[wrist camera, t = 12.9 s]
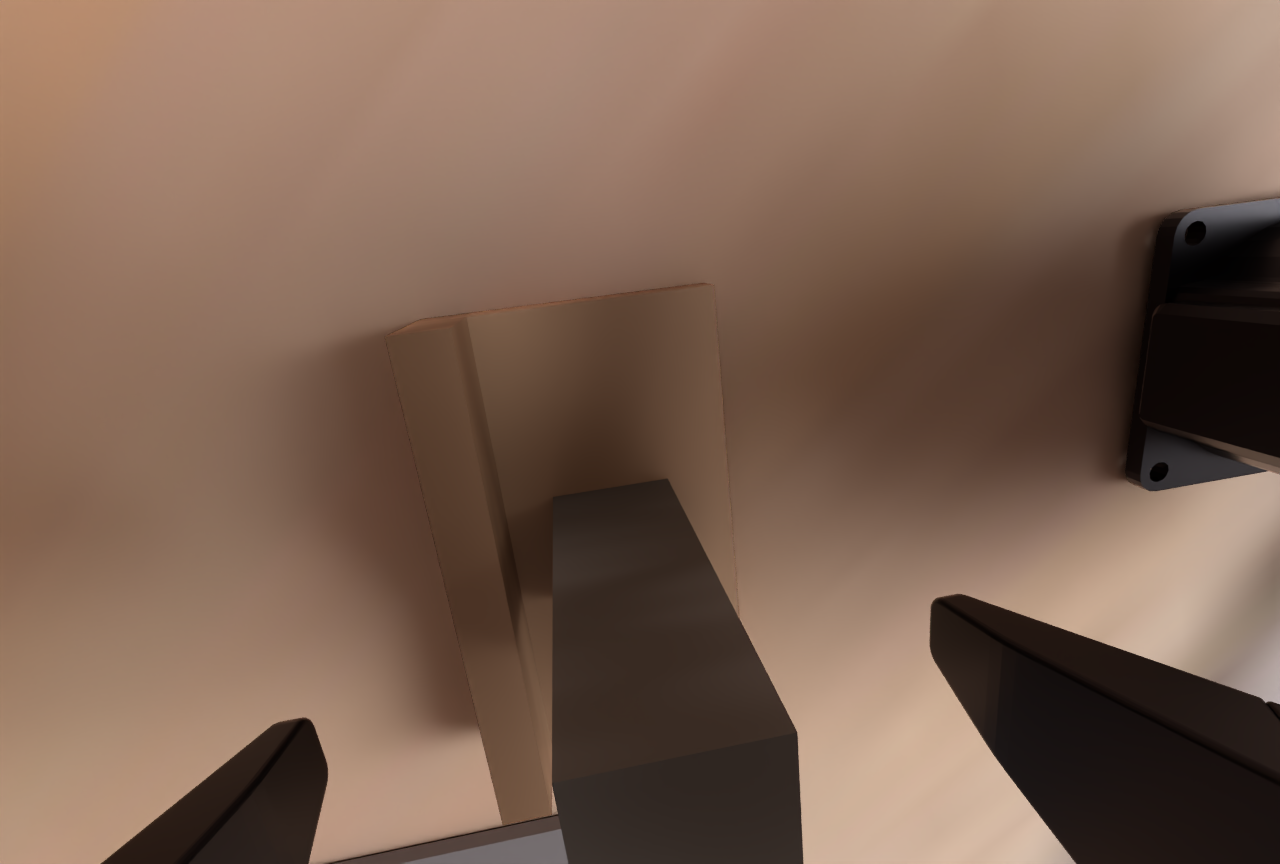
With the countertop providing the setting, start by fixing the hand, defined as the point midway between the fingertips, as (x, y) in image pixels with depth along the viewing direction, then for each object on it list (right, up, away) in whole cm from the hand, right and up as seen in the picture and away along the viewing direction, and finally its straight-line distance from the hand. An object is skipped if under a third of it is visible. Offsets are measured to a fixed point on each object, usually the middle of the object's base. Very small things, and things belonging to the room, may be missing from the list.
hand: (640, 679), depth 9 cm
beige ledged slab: (-1, +2, +5) cm, 5 cm away
